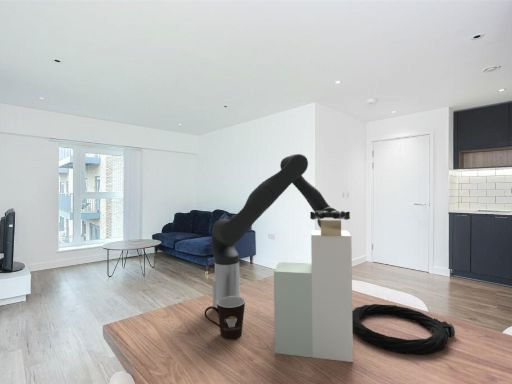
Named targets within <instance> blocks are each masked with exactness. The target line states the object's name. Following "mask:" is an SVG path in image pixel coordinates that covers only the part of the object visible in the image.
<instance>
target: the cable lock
mask: <svg viewBox="0 0 512 384" xmlns="http://www.w3.org/2000/svg"><path fill="white" fill-rule="evenodd" d="M375 315H377V316H393V317H397V318H404V319H407V320H408V321H411V322H415V323H418V324H419V325H421V326H423V327H425V328H426V329H429V331H430V332H431V333H432V335H431V336H429V337H427V338H418V339H416V338H415V339H405V338H399V337H395V336H390V335H386V334H383V333H380V332H377V331H374V330H372V329H370V328H369V327H366V325H364V324H363V323H362V322H361V320H362V319H363V318H365V317H369V316H375ZM352 329H353V332H354V334H355V335H356V336H358V338H360V339H362V340H363V341H364V342H366V343H368V344H372V345H374V346H376V347H378V348H379V349H382V350H387V351H392V352H396V353H400V354H413V355H425V354H432V353H435V352H438V351H441V350H443V349H444V348H445V347H446V346H447V345H448V342H449V339H450V338H453V337H455V334H456V332H455V331H456V330H455V327H454V325H453V324H452V323H450V322H449V323H448V322H447V321H441V320H439V319H438V318H435V317H434V318H433V317H432V316H429V315H427V314H425V313H423V312H422V311H418V310H415V309H412V308H409V307H404V306H398V305H396V304H395V305H394V304H380V303H372V304H363V305H362V306H358V307H355V308H354V309H352Z"/></svg>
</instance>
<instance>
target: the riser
mask: <svg viewBox="0 0 512 384" xmlns="http://www.w3.org/2000/svg"><path fill="white" fill-rule="evenodd" d="M310 235H311V236H310V239H311V242H310V243H311V244H310V246H311V249H310V250H311V263H304V262H285V261H284V262H281V261H280V262H278V263H277V265H276V267H275V268H274V271H273V295H274V296H273V298H274V299H273V302H274V303H273V304H274V306H273V307H274V308H273V309H274V310H273V311H274V317H273V318H274V354H279V355H280V354H281V355H287V356H288V355H290V356H296V357H297V356H298V357H306V358H314V359H321V360H331V361H340V362H349V363H350V362H351V363H353V362H354V356H353V355H354V353H353V352H354V351H353V349H354V347H353V345H354V344H353V342H354V341H353V340H354V339H353V335H354V334H353V332H354V331H353V329H352V311H353V261H352V259H353V257H352V255H353V254H352V249H353V248H352V235H351V234H350V233H349V231H348V230H341V236H321V229H311V234H310Z"/></svg>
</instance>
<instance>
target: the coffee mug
mask: <svg viewBox="0 0 512 384" xmlns="http://www.w3.org/2000/svg"><path fill="white" fill-rule="evenodd" d="M245 304H246V299H244V298H243V297H241V296H240V297H236V296H230V297H224V298H221V299H219V300H218V301H217V308H216V307H213V305H211V306H209V307H207V308H205V310H204V317H205V318H206V320H208V321H209V322H210V323H212V324H214V325H216V327H218V328H219V330H220V336H221V338H222V339H224V340H228V341H230V340H231V341H233V340H236V339H239V338H240V337H241V336H242V335H243V334H242V333H243V327H244V326H243V325H244V314H245V307H246V305H245ZM210 309H211V310H212V309H213V310H215V312H216V313H217V315H218V322H219V323H218V322H216V321H214V320H213V319H211V318H210V317H209V316H208V315H207V312H208V310H210Z"/></svg>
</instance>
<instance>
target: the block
mask: <svg viewBox="0 0 512 384" xmlns="http://www.w3.org/2000/svg"><path fill="white" fill-rule="evenodd" d="M320 230H321V236H341V231H342V219H341V220H340V219H334V218H325V217H323V219H321V228H320Z"/></svg>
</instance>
